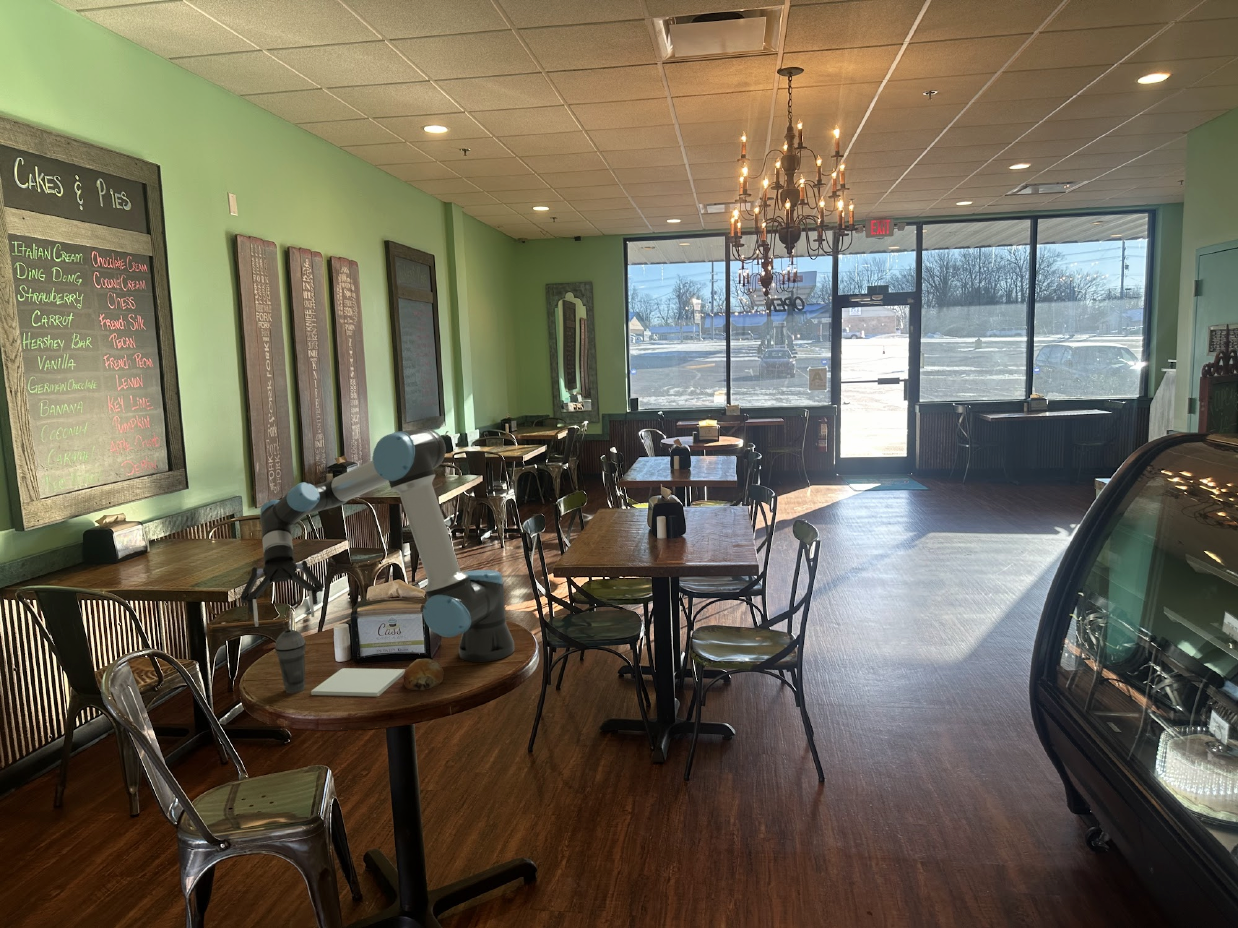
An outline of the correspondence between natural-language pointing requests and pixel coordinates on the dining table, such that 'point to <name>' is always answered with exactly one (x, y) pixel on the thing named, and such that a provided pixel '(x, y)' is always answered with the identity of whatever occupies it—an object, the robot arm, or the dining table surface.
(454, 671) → the dining table surface
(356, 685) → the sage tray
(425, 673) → the bread roll
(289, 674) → the beverage cup
